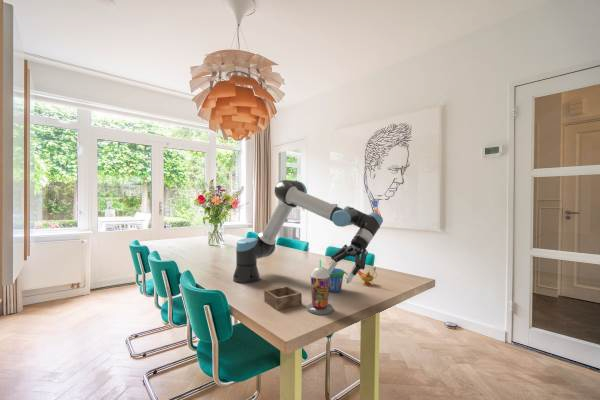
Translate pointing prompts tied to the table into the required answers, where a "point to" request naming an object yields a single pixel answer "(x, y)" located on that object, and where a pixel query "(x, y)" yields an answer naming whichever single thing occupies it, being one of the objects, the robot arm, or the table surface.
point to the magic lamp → (366, 277)
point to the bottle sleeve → (282, 297)
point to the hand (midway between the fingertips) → (337, 276)
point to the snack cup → (336, 280)
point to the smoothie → (320, 287)
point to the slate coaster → (320, 310)
